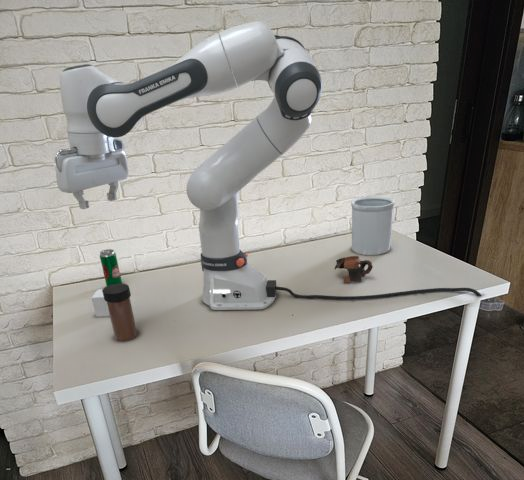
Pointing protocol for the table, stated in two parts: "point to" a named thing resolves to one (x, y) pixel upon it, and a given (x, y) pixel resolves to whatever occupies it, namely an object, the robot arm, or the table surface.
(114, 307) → the coffee jar
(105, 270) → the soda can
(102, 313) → the white cube
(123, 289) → the lid
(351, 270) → the pottery mug
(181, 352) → the table surface
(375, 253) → the utensil holder
